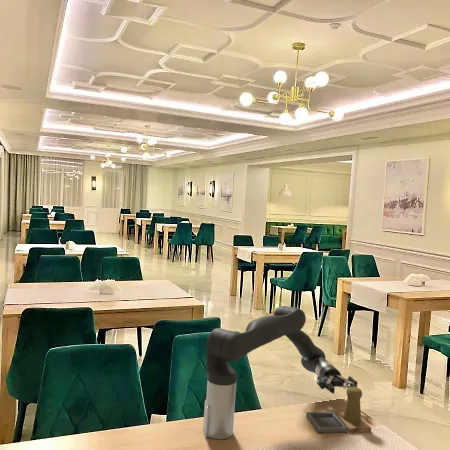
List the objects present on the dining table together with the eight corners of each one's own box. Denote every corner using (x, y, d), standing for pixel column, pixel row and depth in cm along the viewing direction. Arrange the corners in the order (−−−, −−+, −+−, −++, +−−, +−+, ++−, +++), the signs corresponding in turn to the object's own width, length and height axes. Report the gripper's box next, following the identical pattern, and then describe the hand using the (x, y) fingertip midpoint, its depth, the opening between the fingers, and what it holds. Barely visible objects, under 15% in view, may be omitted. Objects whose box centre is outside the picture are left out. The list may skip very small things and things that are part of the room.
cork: (357, 415, 168) (360, 385, 168) (363, 423, 162) (366, 392, 162) (341, 414, 168) (343, 384, 167) (345, 423, 162) (348, 391, 161)
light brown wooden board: (348, 432, 159) (348, 428, 159) (334, 415, 170) (334, 411, 170) (370, 432, 160) (371, 427, 160) (355, 415, 172) (355, 411, 172)
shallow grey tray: (318, 433, 157) (318, 428, 157) (306, 416, 169) (306, 412, 168) (347, 432, 159) (347, 428, 158) (332, 415, 170) (333, 411, 170)
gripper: (311, 364, 187) (327, 380, 171) (345, 364, 189) (364, 380, 173) (309, 383, 187) (325, 401, 171) (344, 382, 190) (362, 400, 174)
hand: (344, 390), depth 172 cm, fingers open, 8 cm apart
